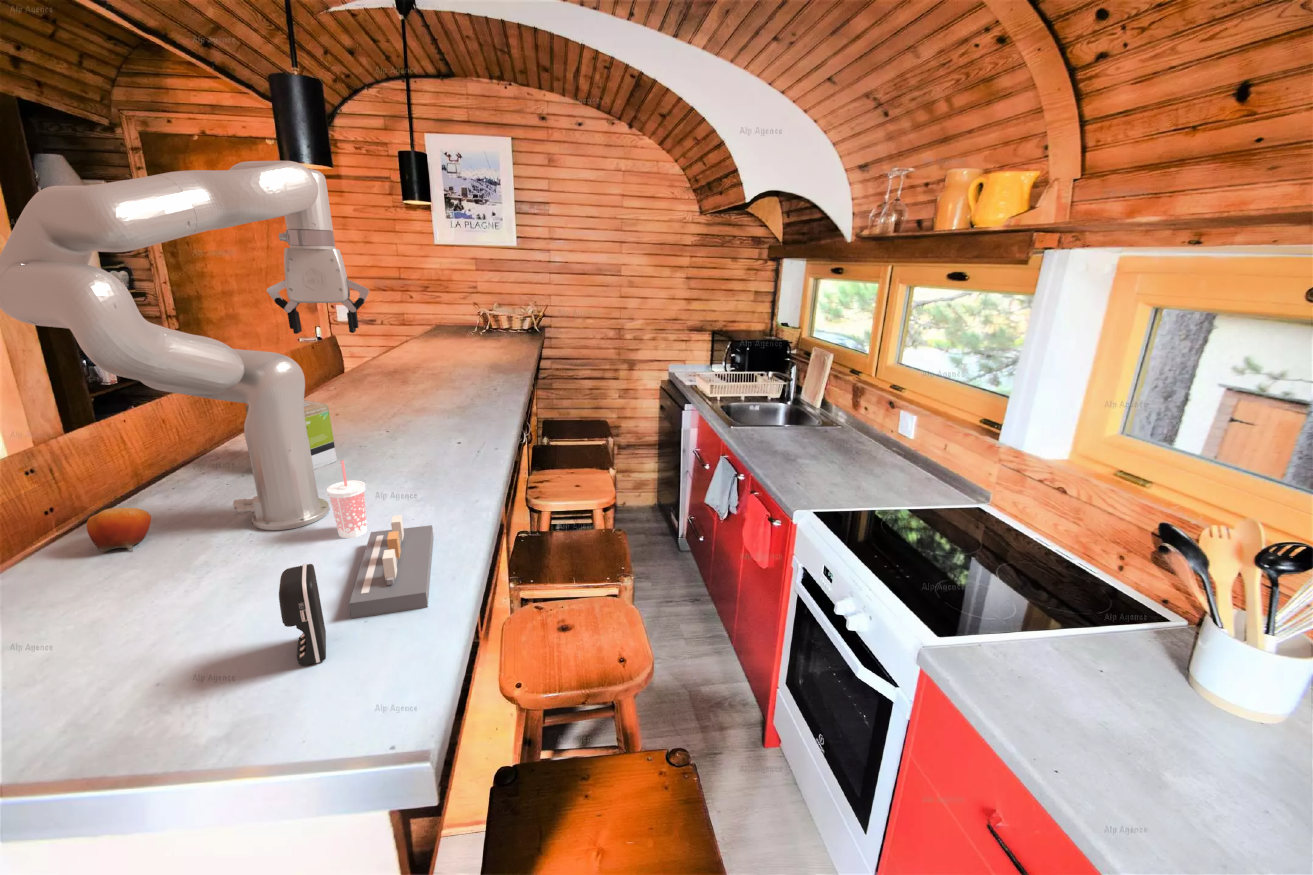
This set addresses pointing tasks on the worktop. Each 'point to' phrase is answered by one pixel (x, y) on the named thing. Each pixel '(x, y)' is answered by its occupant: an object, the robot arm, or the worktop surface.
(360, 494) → the beverage cup
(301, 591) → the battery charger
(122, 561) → the worktop surface
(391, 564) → the switch paddles
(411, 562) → the switch panel
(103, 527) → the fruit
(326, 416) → the tea box
